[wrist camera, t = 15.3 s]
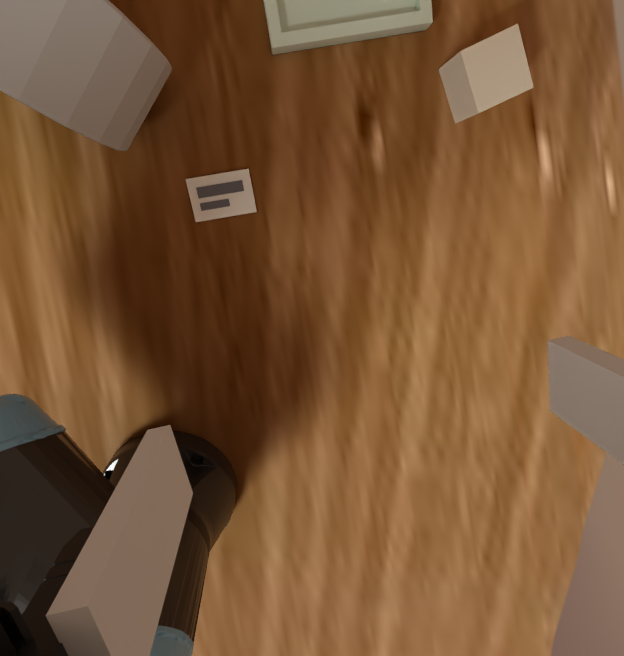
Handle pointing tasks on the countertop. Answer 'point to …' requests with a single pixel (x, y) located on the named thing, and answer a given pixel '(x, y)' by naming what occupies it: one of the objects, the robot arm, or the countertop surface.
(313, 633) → the countertop surface
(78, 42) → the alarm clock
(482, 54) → the cream block
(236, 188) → the label tile
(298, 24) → the tray
